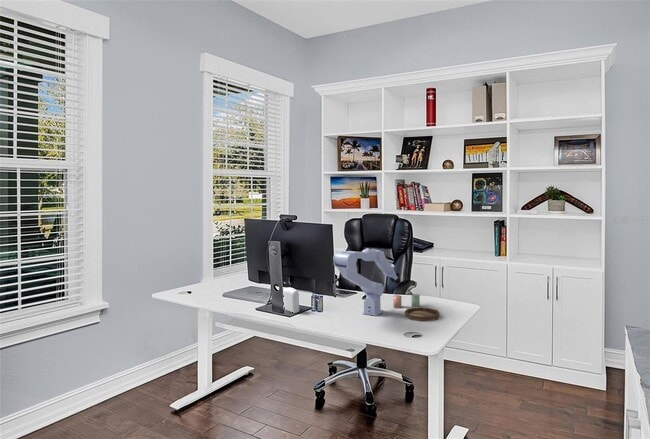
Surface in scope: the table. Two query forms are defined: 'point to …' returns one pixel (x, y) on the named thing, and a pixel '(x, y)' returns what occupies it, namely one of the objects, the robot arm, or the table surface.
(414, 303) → the sage green bead
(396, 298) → the terracotta bead
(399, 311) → the table surface
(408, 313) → the tray
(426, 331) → the table surface
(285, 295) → the photo printer
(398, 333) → the table surface
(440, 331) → the table surface
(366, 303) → the robot arm
